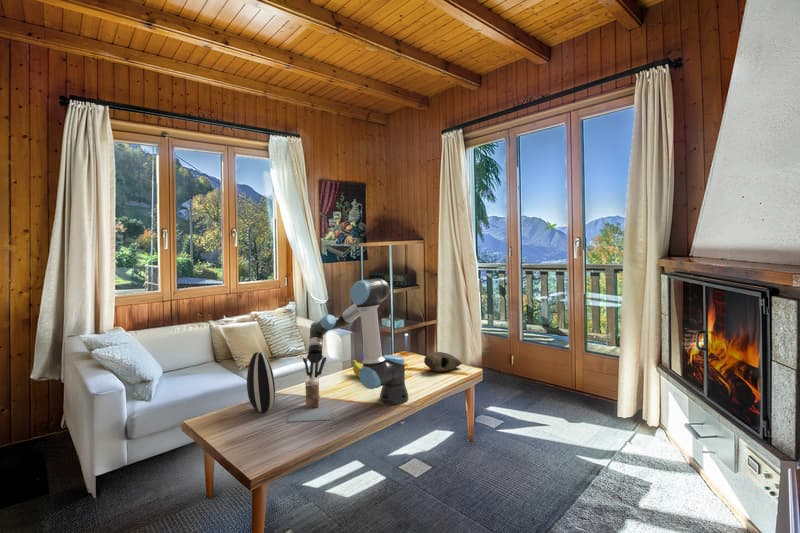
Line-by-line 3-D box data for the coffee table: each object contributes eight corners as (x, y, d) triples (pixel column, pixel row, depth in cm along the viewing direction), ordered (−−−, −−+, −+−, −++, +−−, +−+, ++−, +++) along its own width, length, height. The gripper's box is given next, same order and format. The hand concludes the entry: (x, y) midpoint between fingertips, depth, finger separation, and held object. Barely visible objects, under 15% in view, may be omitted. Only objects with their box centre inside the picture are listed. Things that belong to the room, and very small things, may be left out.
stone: (448, 353, 282) (464, 357, 270) (444, 371, 280) (460, 376, 269) (422, 347, 267) (438, 351, 256) (417, 366, 265) (433, 371, 254)
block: (319, 403, 215) (318, 377, 214) (318, 408, 209) (317, 381, 208) (307, 404, 214) (306, 378, 214) (306, 409, 209) (305, 382, 208)
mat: (332, 408, 209) (332, 407, 209) (329, 420, 195) (329, 419, 195) (291, 410, 207) (291, 409, 207) (286, 422, 193) (286, 421, 193)
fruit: (375, 386, 240) (375, 370, 239) (347, 374, 262) (346, 360, 261) (385, 383, 244) (384, 368, 244) (356, 372, 267) (356, 358, 266)
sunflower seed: (281, 412, 205) (279, 352, 203) (264, 419, 197) (261, 357, 196) (259, 403, 217) (257, 347, 215) (242, 409, 209) (239, 351, 207)
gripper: (328, 350, 235) (326, 389, 219) (304, 351, 234) (301, 390, 218) (326, 343, 229) (324, 383, 213) (302, 344, 228) (299, 384, 212)
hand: (312, 387), depth 216 cm, fingers closed
